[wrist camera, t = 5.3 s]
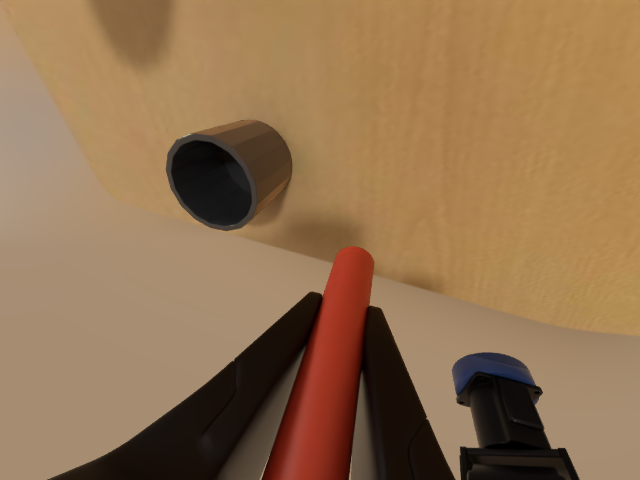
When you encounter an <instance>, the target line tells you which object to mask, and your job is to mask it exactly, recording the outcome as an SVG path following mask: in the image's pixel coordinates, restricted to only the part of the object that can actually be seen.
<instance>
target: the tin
mask: <svg viewBox="0 0 640 480" xmlns="http://www.w3.org/2000/svg"><path fill="white" fill-rule="evenodd" d="M291 172H292V160H291V155H290V152H289V149H288V147H287V145H286V143H285V141H284V140H283V138H282V137H281V136H280V135H279V133H278V132H277V131H275V130H274V129H273V128H272V127H270V126H269V125H267V124H265V123H263V122H260V121H256V120H241V121H237V122H233V123H229V124H226V125H222V126H218V127H214V128H210V129H206V130H202V131H198V132H195V133H191V134H189V135H186V136H184V137H181V138H179V139H177V140H176V141H175V143H174V144H173V146H172V147H171V149H170V150H169V152H168V155H167V164H166V173H167V176H168V180H169V184H170V188H171V190H172V192H173V193H174V195H175V196H176V198H177V200H178V201H179V203H180V205H181V206H182V207H183V208H184V209H185V210H186V211H187V212H188V213H189V214H190V215H191V216H192V217H193V218H194V219H196V220H197V221H199V222H201V223H203V224H204V225H206V226H208V227H210V228H214V229H218V230H223V231H230V230H235V229H240V228H242V227H243V226H244V225H246V224H247V223H248V222H249V221H250V220H252V219H253V218H254V217H255V216H256V215H257V214H258V213H259V212H260V211H261V210H262V209H263V208H264V207H265V206H266V205H267V204H268V203H269V202H270V201H271V200H273V199H274V198H275V197H276V196H277V195H278V194H279V193H280V192H281V191H282V190H283V189H284V188H285V186H286V185H287V183H288V181H289V179H290V176H291Z"/></svg>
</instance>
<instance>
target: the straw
mask: <svg viewBox="0 0 640 480" xmlns="http://www.w3.org/2000/svg"><path fill="white" fill-rule="evenodd" d="M373 269H374V261H373V258H372V256H371V255H370V254H369V253H368V252H367V251H366V250H364V249H362V248H359V247H346V248H344V249H342V250H340V251H339V252H338V254H337V255H336V258H335V261H334V264H333V267H332V270H331V273H330V276H329V279H328V282H327V285H326V288H325V291H324V294H323V297H322V300H321V303H320V306H319V309H318V312H317V315H316V318H315V321H314V324H313V327H312V330H311V333H310V336H309V339H308V342H307V345H306V348H305V351H304V354H303V357H302V360H301V363H300V366H299V369H298V372H297V375H296V378H295V381H294V384H293V387H292V390H291V393H290V396H289V399H288V402H287V405H286V408H285V411H284V414H283V417H282V420H281V423H280V426H279V429H278V432H277V435H276V438H275V441H274V444H273V447H272V450H271V453H270V456H269V459H268V462H267V465H266V468H265V471H264V474H263V477H262V480H349V473H350V463H351V456H352V448H353V439H354V431H355V422H356V414H357V405H358V397H359V388H360V380H361V371H362V363H363V345H364V335H365V327H366V319H367V311H368V307H369V303H370V294H371V286H372V277H373Z"/></svg>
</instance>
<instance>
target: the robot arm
mask: <svg viewBox="0 0 640 480" xmlns="http://www.w3.org/2000/svg"><path fill="white" fill-rule="evenodd" d="M321 300H322V295H321V294H320V293H316V292H310V293H308V294H307V295H306V296H305V297H304V298H303V299H302V300H301V301H299V302H298V303H297V304H296V305H295V306H294V307H292V308H291V309H290V310H289V311H288V312H287V313H286V314H285V315H284V316H282V317H281V318H280V319H279V320H278V321H277V322H276V323H274V324H273V325H272V326H271V327H270V328H269V329H268V330H267V331H265V332H264V333H263V334H262V335H261V336H260V337H259V338H258V339H257V340H255V341H254V342H253V343H252V344H251V345H250V346H249V347H247V348H246V349H245V350H244V351H243V352H242V353H241V354H240V355H238V356H237V357H236V358H235V359H234V361H232V362H230V363H229V364H228V365H227V366H226V367H225V368H224V369H223V370H221V371H220V372H219V373H218V374H217V375H216V376H214V377H213V378H212V379H211V380H210V381H209V382H207V383H206V384H205V385H204V386H202V387H201V388H200V389H198V390H197V391H196V392H194V393H193V394H192V395H190V396H189V397H188V398H186V399H185V400H184V401H182V402H181V403H180V404H179V405H177V406H176V407H174V408H173V409H172V410H170V411H169V412H167V413H166V414H165V415H163V416H162V417H161V418H159V419H158V420H157V421H155V422H154V423H152V424H151V425H150V426H148V427H147V428H146V429H144V430H143V431H141V432H140V433H139V434H138V435H136V436H135V437H133V438H132V439H131V440H129V441H128V442H126V443H124V444H123V445H121V446H120V447H118V448H116V449H115V450H113V451H111V452H109V453H108V454H106V455H104V456H102V457H100V458H98V459H96V460H93V461H91V462H89V463H86V464H84V465H82V466H79V467H77V468H74V469H72V470H70V471H67V472H65V473H62V474H60V475H57V476H55V477H53V478H50V479H48V480H259V479H260V477H261V474H262V472H263V469H264V467H265V464H266V461H267V459H268V457H269V454H270V452H271V449H272V447H273V444H274V441H275V438H276V435H277V432H278V429H279V426H280V423H281V420H282V417H283V414H284V411H285V408H286V405H287V402H288V399H289V396H290V393H291V390H292V387H293V384H294V381H295V378H296V375H297V372H298V369H299V366H300V363H301V360H302V357H303V354H304V351H305V348H306V345H307V342H308V339H309V336H310V333H311V330H312V327H313V324H314V321H315V318H316V315H317V312H318V309H319V306H320V303H321ZM542 393H543V392H542V390H541V388H540V387H538V386H535V385H531V384H527V383H523V382H519V381H516V380H512V379H508V378H504V377H500V376H496V375H493V374H489V373H485V372H481V371H477V372H475V373H474V374H473V375H472V377H471V378H470V379H469V381H468V382H467V384H466V385H465V386H464V388H463V389H462V391H461V392H460V393H459V395H458V396H457V398H456V400H457V403H458V404H460V405H463V406H467V407H470V408H471V412H472V417H473V421H474V426H475V431H476V435H477V439H478V444H479V448H466V447H460V453H461V455H460V471H461V480H580V479H579V477H578V474H577V472H576V470H575V468H574V466H573V464H572V461H571V459H570V457H569V455H568V453H567V451H566V449H565V448H558V449H551V446H550V444H549V441H548V439H547V437H546V434H545V432H544V426H543V423H542V421H541V419H540V417H539V414H538V412H537V409H536V407H535V404H534V401H535V400H536V399H537V398H538V397H540V396H541V395H542ZM426 418H427V416H426V414H425V411H424V409H423V406H422V404H421V402H420V400H419V397H418V395H417V392H416V390H415V387H414V385H413V383H412V380H411V378H410V376H409V373H408V371H407V368H406V366H405V364H404V361H403V359H402V357H401V354H400V352H399V350H398V347H397V345H396V343H395V340H394V338H393V335H392V333H391V330H390V328H389V326H388V323H387V321H386V319H385V316H384V314H383V312H382V309H381V308H378V307H374V306H369V307H368V311H367V319H366V327H365V335H364V345H363V363H362V371H361V380H360V388H359V397H358V405H357V414H356V422H355V431H354V439H353V448H352V472H351V480H455V478H454V476H453V474H452V472H451V470H450V468H449V466H448V464H447V462H446V460H445V457H444V455H443V453H442V451H441V448H440V446H439V444H438V441H437V439H436V437H435V435H434V432H433V430H432V428H431V425H430V423H429V421H428V420H427V419H426ZM425 419H426V420H425Z"/></svg>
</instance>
